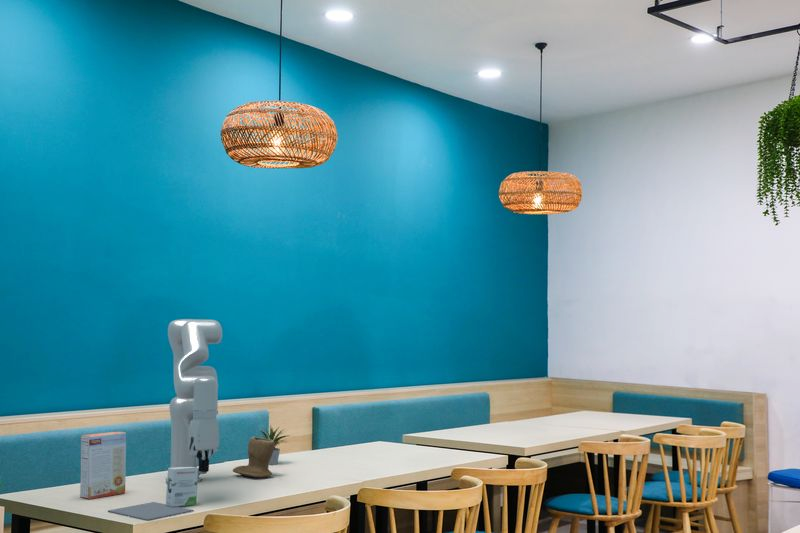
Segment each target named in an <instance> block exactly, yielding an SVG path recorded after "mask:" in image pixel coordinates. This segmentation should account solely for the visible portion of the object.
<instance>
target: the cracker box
mask: <svg viewBox="0 0 800 533" xmlns="http://www.w3.org/2000/svg"><path fill="white" fill-rule="evenodd" d="M80 438H81V439H80V483H79V484H80V486H79V488H80V491H79V492H80V494H79V496H80V498H82V499H87V500H92V499H99V498H104V497H109V496H117V495H123V494H126V476H127V475H126V474H127V473H126V472H127V470H126V468H127V467H126V465H127V463H126V462H127V432H124V431H119V430H118V431H110V432H108V431H107V432H99V433H90V434H83V435H81V436H80Z"/></svg>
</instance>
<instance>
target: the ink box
mask: <svg viewBox="0 0 800 533" xmlns="http://www.w3.org/2000/svg"><path fill="white" fill-rule="evenodd" d="M198 468H199V467H197V468H196V467H177V468H171V467H168V468H167V477H166V479H167V482H166V495H165V504H166V505H168V506H171V507H183V506H184V507H185V506H195V505H197V496H198V482H197V480H198Z"/></svg>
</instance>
